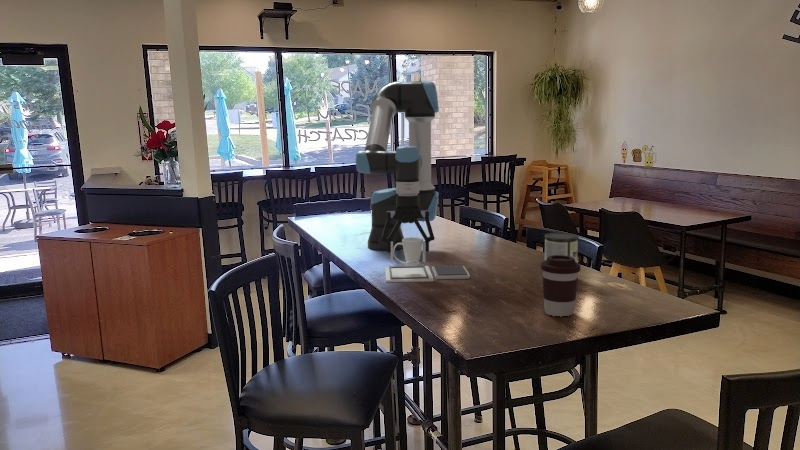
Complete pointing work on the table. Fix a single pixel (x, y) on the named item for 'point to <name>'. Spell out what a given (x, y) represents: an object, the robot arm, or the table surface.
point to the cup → (411, 250)
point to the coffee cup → (559, 284)
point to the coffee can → (561, 245)
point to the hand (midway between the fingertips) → (408, 261)
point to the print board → (408, 274)
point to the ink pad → (450, 272)
